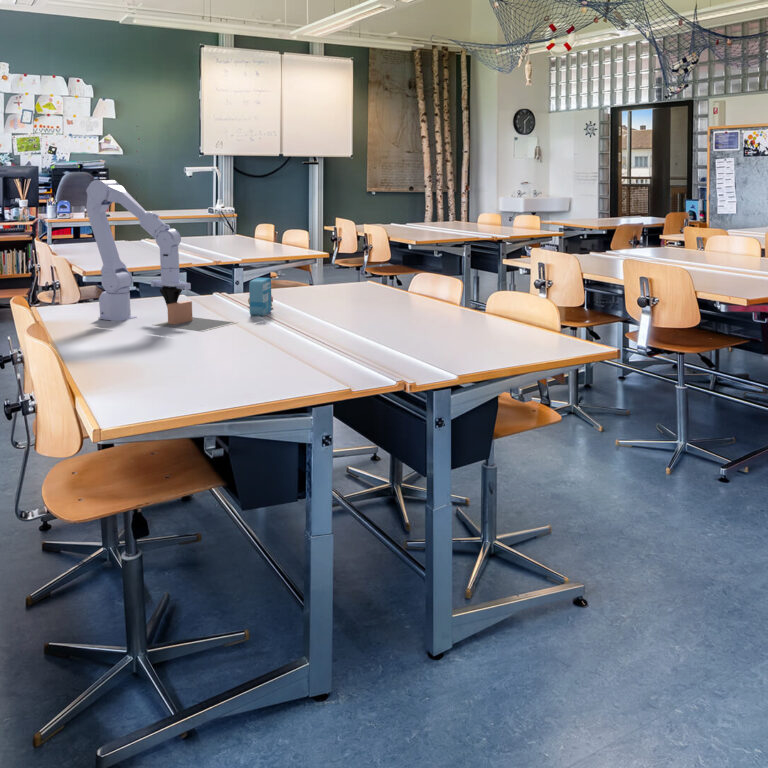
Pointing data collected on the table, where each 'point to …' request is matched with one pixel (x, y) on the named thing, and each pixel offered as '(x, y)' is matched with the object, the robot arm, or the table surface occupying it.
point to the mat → (197, 324)
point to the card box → (179, 312)
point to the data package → (260, 296)
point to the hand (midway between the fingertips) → (171, 310)
